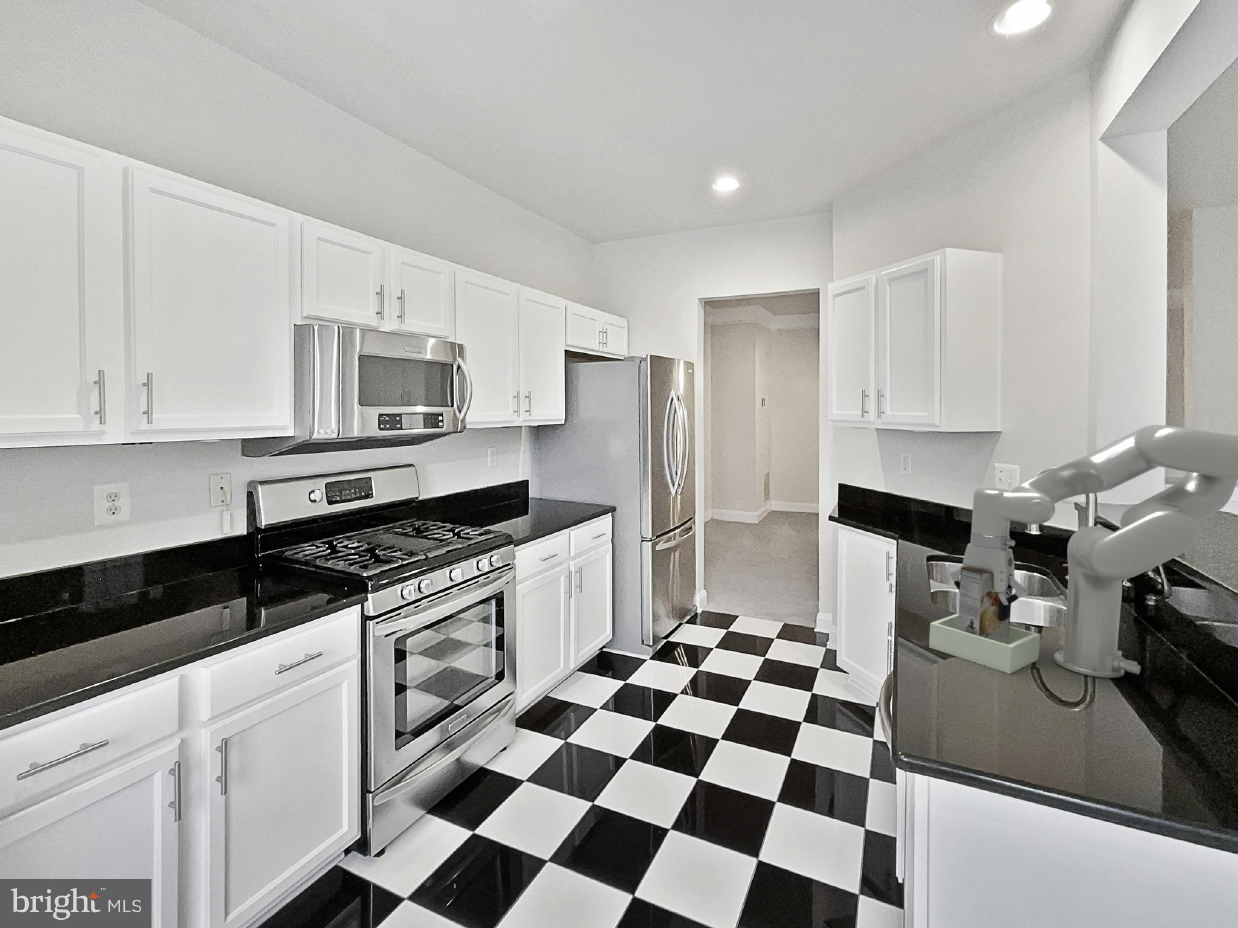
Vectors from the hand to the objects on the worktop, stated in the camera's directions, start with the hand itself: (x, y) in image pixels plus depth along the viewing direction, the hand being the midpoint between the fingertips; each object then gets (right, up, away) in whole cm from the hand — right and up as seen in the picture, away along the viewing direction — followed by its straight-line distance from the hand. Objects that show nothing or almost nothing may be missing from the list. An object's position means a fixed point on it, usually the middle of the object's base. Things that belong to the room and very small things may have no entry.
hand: (984, 614), depth 146 cm
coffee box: (0, -5, 0) cm, 5 cm away
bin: (0, -9, +1) cm, 9 cm away
